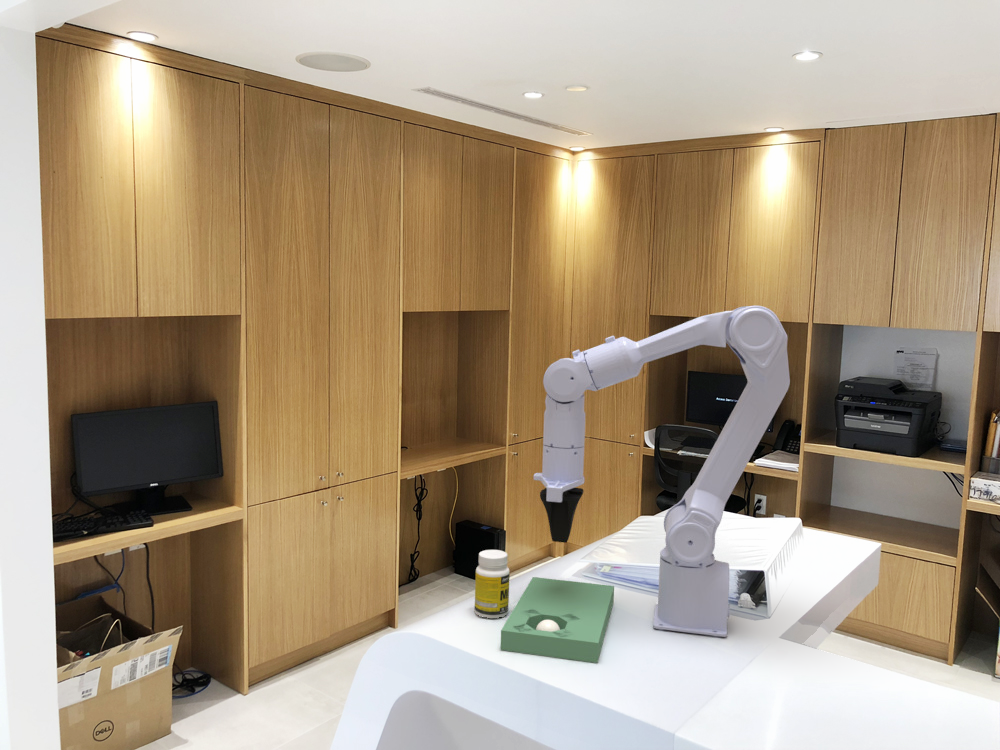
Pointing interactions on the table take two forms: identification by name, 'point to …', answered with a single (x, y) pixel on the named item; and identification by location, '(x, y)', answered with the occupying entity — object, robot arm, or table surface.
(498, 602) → the supplement bottle
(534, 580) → the green
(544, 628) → the ball
